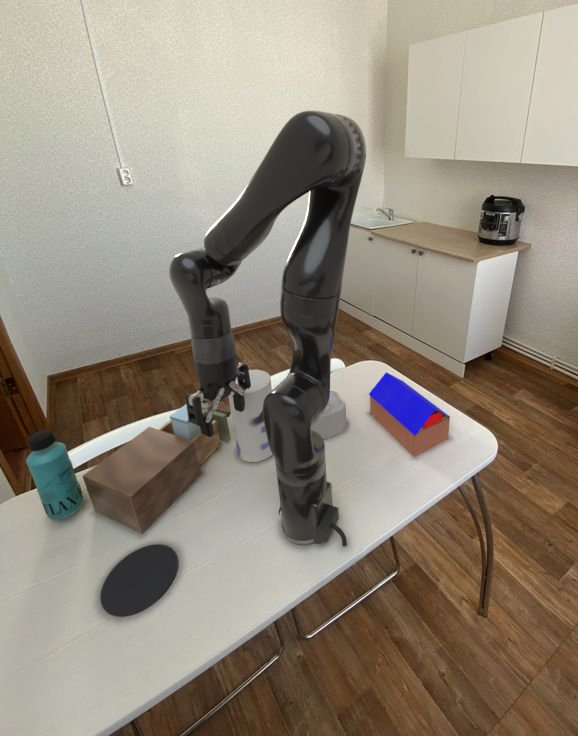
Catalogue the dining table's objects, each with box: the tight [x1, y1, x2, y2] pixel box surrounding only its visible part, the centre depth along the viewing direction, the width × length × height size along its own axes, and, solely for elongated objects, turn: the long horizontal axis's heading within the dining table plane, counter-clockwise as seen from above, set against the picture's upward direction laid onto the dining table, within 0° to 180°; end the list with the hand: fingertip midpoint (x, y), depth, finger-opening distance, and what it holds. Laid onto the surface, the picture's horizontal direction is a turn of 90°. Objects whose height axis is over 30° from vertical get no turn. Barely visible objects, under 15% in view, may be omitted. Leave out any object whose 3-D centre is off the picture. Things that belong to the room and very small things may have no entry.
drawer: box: [157, 407, 232, 466], centre depth 95 cm, size 19×13×8 cm
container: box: [227, 369, 274, 463], centre depth 93 cm, size 10×10×20 cm
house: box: [368, 371, 451, 457], centre depth 102 cm, size 12×20×12 cm, turn 32°
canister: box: [169, 403, 201, 440], centre depth 93 cm, size 5×5×10 cm
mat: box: [100, 543, 179, 618], centre depth 67 cm, size 12×12×1 cm
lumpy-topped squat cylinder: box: [311, 390, 347, 440], centre depth 103 cm, size 10×13×9 cm
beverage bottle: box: [25, 428, 84, 521], centre depth 77 cm, size 6×7×20 cm
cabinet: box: [82, 426, 202, 535], centre depth 83 cm, size 16×14×10 cm
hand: (225, 422), depth 78 cm, fingers open, 8 cm apart
